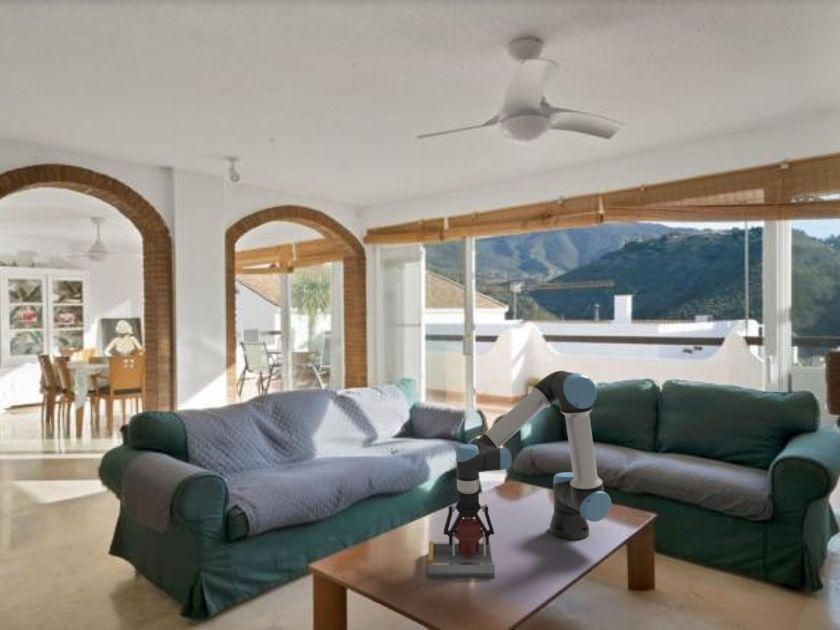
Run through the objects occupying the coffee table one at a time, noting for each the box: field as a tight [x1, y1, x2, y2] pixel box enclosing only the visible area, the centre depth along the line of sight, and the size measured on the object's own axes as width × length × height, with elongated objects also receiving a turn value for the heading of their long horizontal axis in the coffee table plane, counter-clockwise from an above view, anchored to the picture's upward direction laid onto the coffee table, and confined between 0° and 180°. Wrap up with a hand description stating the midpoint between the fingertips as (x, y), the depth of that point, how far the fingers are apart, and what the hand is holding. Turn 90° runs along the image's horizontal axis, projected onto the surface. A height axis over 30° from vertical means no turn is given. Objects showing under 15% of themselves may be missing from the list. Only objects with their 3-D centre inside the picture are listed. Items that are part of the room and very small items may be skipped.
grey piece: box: [427, 540, 496, 579], centre depth 197 cm, size 22×19×5 cm
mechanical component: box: [454, 517, 484, 559], centre depth 197 cm, size 12×10×10 cm
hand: (469, 554), depth 197 cm, fingers closed on mechanical component, 10 cm apart
